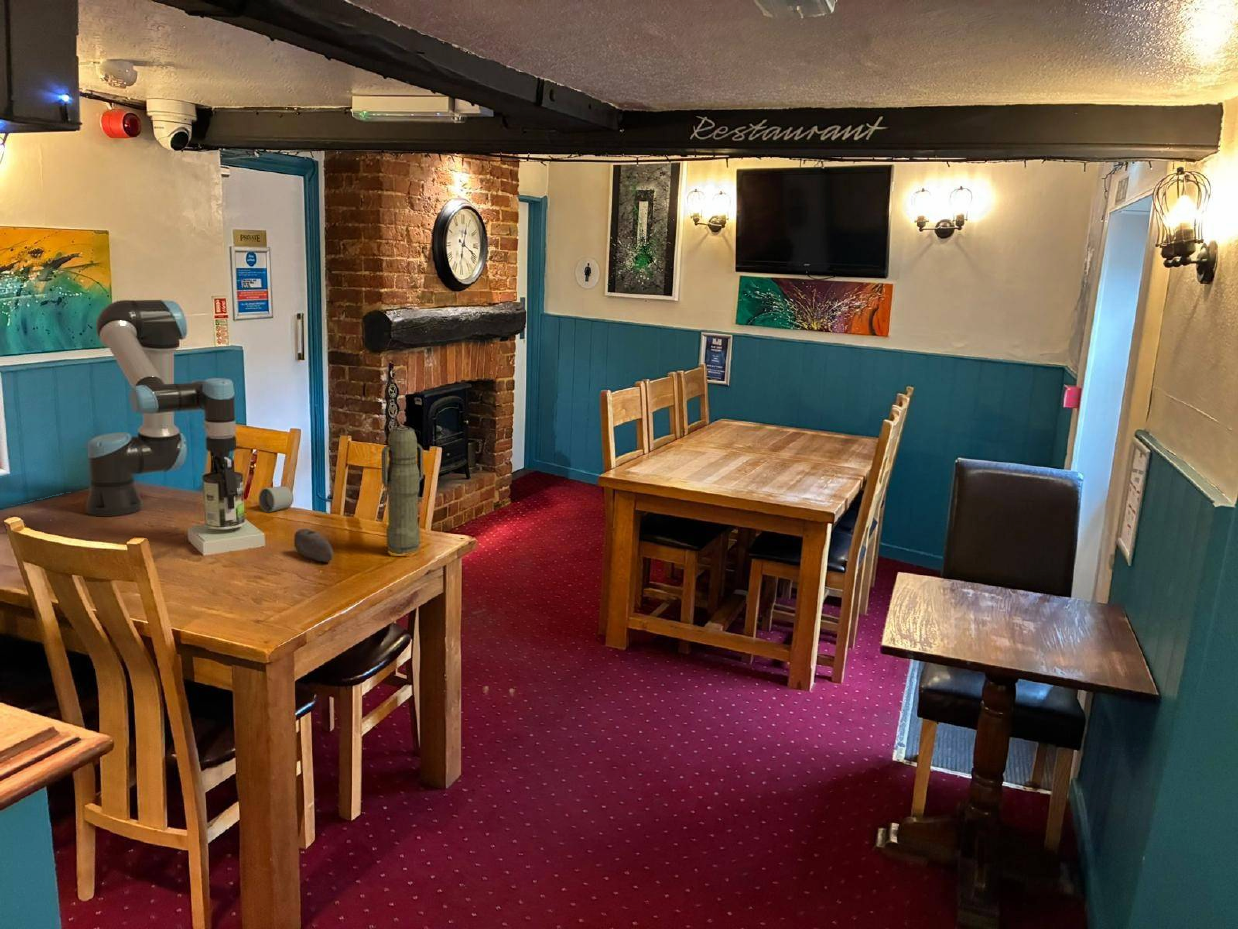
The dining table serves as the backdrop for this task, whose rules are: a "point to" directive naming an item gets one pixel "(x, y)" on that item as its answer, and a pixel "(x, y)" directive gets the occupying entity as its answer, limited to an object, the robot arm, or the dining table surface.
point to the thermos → (402, 489)
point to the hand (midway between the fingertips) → (224, 514)
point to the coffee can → (221, 502)
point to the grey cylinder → (275, 498)
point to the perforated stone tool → (313, 545)
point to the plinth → (225, 538)
